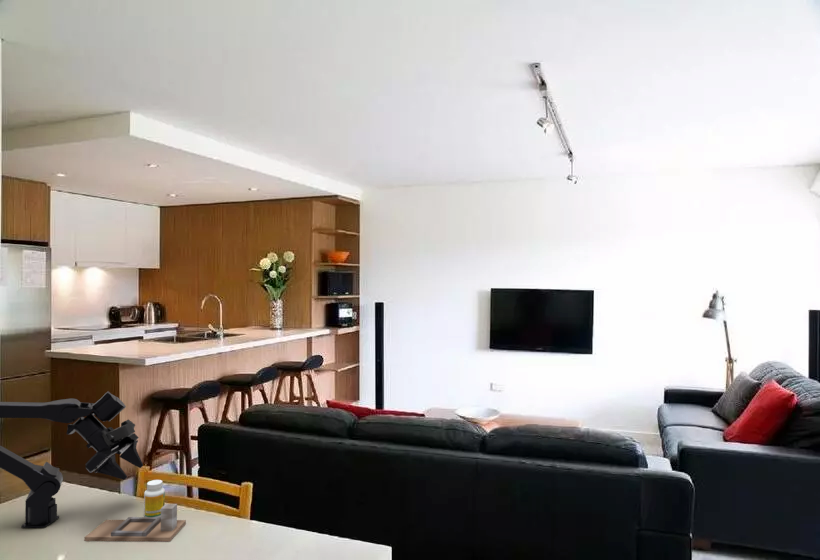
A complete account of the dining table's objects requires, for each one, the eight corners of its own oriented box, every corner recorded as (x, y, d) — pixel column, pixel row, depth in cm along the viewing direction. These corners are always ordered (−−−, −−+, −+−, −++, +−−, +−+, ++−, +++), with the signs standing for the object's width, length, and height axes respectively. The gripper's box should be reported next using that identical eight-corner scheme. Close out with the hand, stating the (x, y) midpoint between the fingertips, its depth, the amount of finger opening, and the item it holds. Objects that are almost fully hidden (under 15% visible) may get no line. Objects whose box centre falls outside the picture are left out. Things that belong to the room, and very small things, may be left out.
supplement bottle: (141, 514, 154) (142, 481, 154) (161, 509, 157) (162, 477, 157) (146, 521, 149) (146, 487, 149) (166, 516, 153) (167, 482, 153)
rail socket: (84, 540, 138) (84, 513, 138) (106, 523, 148) (106, 498, 148) (170, 541, 138) (170, 514, 138) (185, 523, 148) (186, 498, 148)
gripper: (97, 422, 144) (138, 463, 144) (132, 406, 162) (168, 442, 163) (67, 451, 144) (108, 493, 144) (105, 431, 162) (142, 468, 163)
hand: (134, 472), depth 153 cm, fingers open, 9 cm apart
